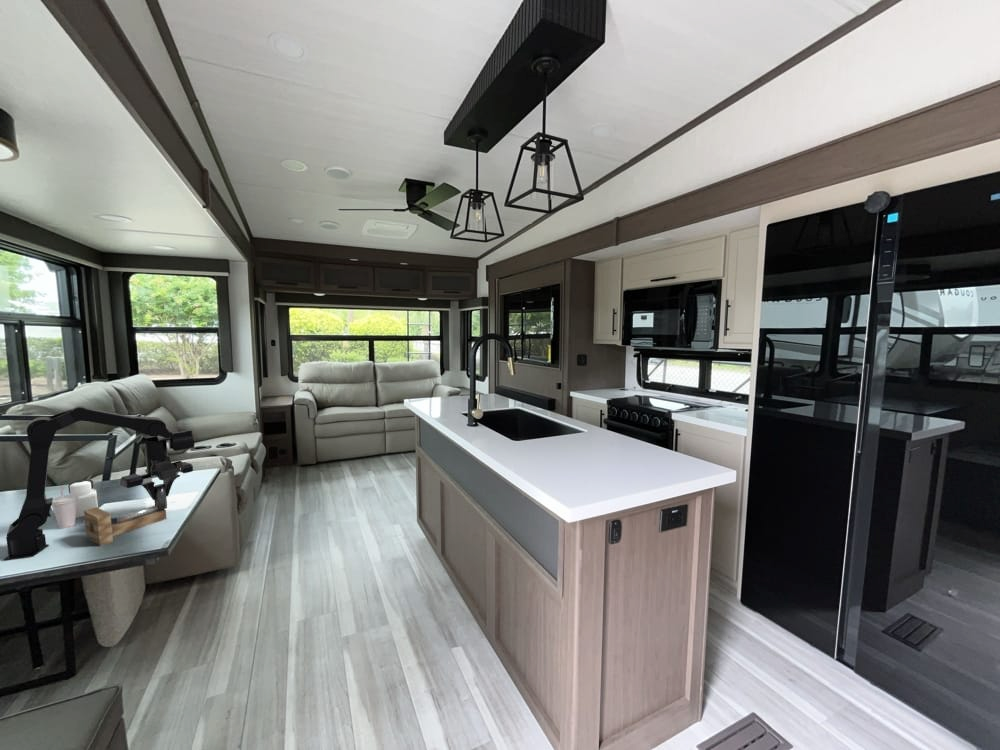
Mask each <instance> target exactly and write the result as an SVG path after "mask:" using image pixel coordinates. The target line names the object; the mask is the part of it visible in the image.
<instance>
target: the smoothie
mask: <svg viewBox="0 0 1000 750" xmlns="http://www.w3.org/2000/svg"><path fill="white" fill-rule="evenodd" d="M59 488H60V496H58V497H55V498H53V501H52V505H51V508H52V511H53V512H54V516H55V519H56V523H57V526H58V528H59V529H62V530H63V529H67V528H71V527H73V526H75V525H76V519H77V518H76V506H77V499H78V495H69V494H67V495H64V486H63V485H60V486H59Z"/></svg>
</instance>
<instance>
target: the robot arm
mask: <svg viewBox="0 0 1000 750" xmlns="http://www.w3.org/2000/svg"><path fill="white" fill-rule="evenodd" d="M81 421H83V422H88V423H89V422H90V423H96V424H101V425H106V426H112V427H119V428H123V429H124V428H125V429H129V430H132V431H135V432H137V433H140V434H142V436H140V438H139V439H138V440H136V444H137V445H138V446H139V445H144V452H145V457H144V458H143V460H144V462H146V463H145V464H146V469H144V470H145V474H141V475H140V474H137V473H132V474H128V475H125V476H121V478H120V480H119V485H120V486H122V487H123V488H127V489H130V488H134V487H138V486H141V487H143V488H144V490H145V491H146V492H147V493H148V495H149V497H150V498H151V499H152V501H154V500H156V496H155V490H154V486H155V483H156V482H155V481H153V480H152V479H155V478H158V480H160V481H163V482H162V484H165V486H166V498H167V497H168V496H169V495H170V491H171V488H172V486H173V483H175V480H176V479H177V478H180V476H181V475H180V474H179V472H180V473H182V474H187V473H192V472H194V466H193V464H192V463H191V462H190V463H189V462H185V461H182V460H177V461H173V462H172V461H171V458H170V456H169V455H168V448H169V450H173V452H180V451H186V450H192V449H195V439H194V436H193V431H192V429H186V430H183V431H174V432H172V431H171V430H170V429H168V428H167V425H166V423H165V422H164V421H163V420H162V418H159V417H158V416H157V417H156V416H130V415H127V414H120V413H116V412H110V411H105V410H99V409H95V408H90V407H86V406H83V405H79V406H75V407H73V408H71V409H69V410H65V411H62V412H59V413H55V414H54V415H50V416H39V417H36V418H34V419H33V420H32V419H31V421H30V422H29V424H28V426H27V428H26V436H27V440H28V441H27V442H28V447H29V448H30V454H29V455H30V456H29V465H28V475H27V483H26V493H25V498H24V502H23V503H22V507H21V510H20V511H19V515H18V518H17V519H15V520H14V521H13V522H12V523H11V524H9V527H8V531H7V532H6V538H5V541H6V545H7V546H6V547H7V553H8V555H7V556H5V557H3V560H4V561H8V560H15V559H22V558H23V559H24V558H32V557H34V556H36V555H37V554H39V553H40V552H42V551H43V550H45V549H47V548H48V547H49V546H50V544H47V540H46V534H45V533H44V530H43V528H40V527H43V525H45V524H46V522H47V521H48V518H51V517H52V512H53V508H52V501H53V499H54V498H53V497H49V498H47V495H46V486H47V478H48V477H47V475H48V467H49V458H50V457H49V455H50V449H51V446H52V444H53V440H54V438H55V436H56V433H57V431H59V430H62V429H64V428H66V427H69V426H71V425H73V424H75V423H78V422H81ZM145 435H146V436H149V437H146V436H145ZM167 441H168V443H167Z"/></svg>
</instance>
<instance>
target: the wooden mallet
mask: <svg viewBox="0 0 1000 750" xmlns="http://www.w3.org/2000/svg"><path fill="white" fill-rule="evenodd" d="M111 518H112V516H111V513H110V512H107V511H106V510H103V509H101V508H99V507H98V508H97V507H96V508H92V509H89V510H85V511H84V526H85V527H84V528H85V535H86V539H87V540H89V541H91V542H93V543H94V544H96V545H98V546H100V547H102V546H104V545H107V544H110V543H113V542H114V537H117V536H119V534H120V535H122V533H123V534H125V533H124V532H126V533H128V532H127V531H129V532H131V531H130V530H132V531H134V530H133V529H135V530H138V529H140V527H141V528H143V526H144V527H146V525H147V526H148V525H152V524H155V523H158V522H161V521H164V520H167V510H166V509H163V510H158V511H155V512H152V513H149V514H145V515H142V516H139V517H136V518H133V519H130V520H127V521H123V522H120V523H118V522H116V523H112V519H111ZM137 528H138V529H137ZM116 535H117V536H116ZM113 536H114V537H113Z"/></svg>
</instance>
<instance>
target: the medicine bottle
mask: <svg viewBox="0 0 1000 750" xmlns="http://www.w3.org/2000/svg"><path fill="white" fill-rule="evenodd" d="M68 495H78V499H77V506H76V519H79V518H83V517H84V511H85V510H89V509H92V508H96V507H97V508H99V505H98V495H97V489H94V480H92V479H81V480H75V481H73V482H71V483H70V484H68Z"/></svg>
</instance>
